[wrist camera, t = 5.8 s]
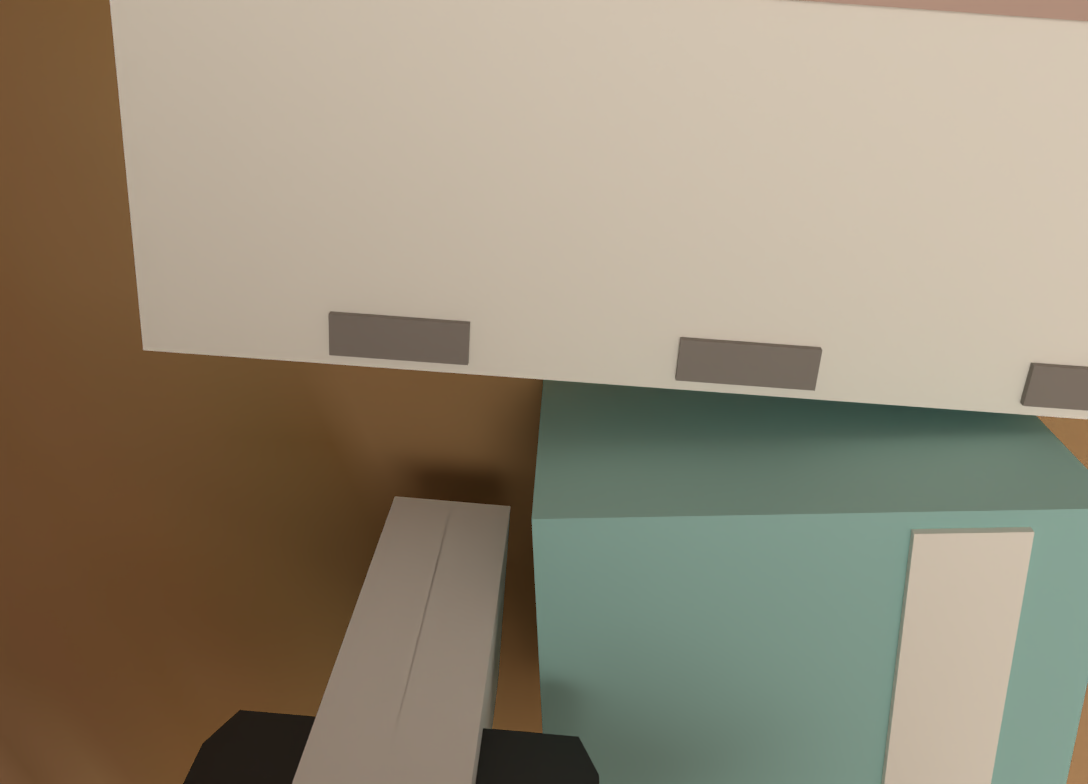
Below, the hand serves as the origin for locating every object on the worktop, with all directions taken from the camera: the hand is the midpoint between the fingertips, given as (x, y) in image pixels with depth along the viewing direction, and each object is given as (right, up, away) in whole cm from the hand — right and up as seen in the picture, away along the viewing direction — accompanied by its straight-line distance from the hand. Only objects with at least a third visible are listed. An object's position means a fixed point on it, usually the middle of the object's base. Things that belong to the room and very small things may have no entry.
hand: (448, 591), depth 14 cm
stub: (+4, +1, +2) cm, 5 cm away
